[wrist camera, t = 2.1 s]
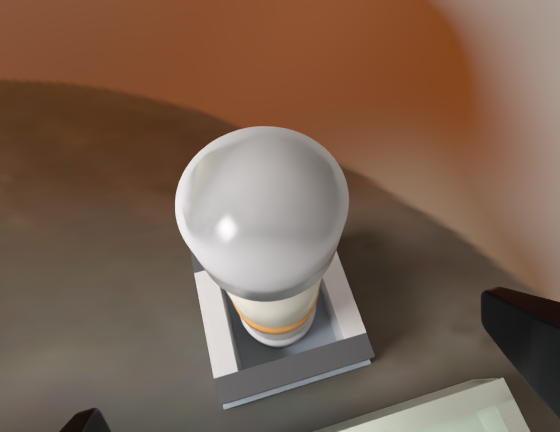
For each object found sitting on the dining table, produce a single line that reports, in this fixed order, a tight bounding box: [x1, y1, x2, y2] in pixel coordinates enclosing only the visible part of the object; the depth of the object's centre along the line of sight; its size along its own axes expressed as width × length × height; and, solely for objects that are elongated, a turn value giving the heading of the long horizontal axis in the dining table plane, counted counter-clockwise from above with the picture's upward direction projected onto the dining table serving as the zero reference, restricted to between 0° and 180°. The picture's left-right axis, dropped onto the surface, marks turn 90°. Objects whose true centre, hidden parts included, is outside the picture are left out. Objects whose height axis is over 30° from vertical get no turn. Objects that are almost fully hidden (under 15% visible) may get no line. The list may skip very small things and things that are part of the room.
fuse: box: [175, 126, 349, 349], centre depth 13 cm, size 4×4×12 cm
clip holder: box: [191, 251, 375, 409], centre depth 18 cm, size 7×7×3 cm
